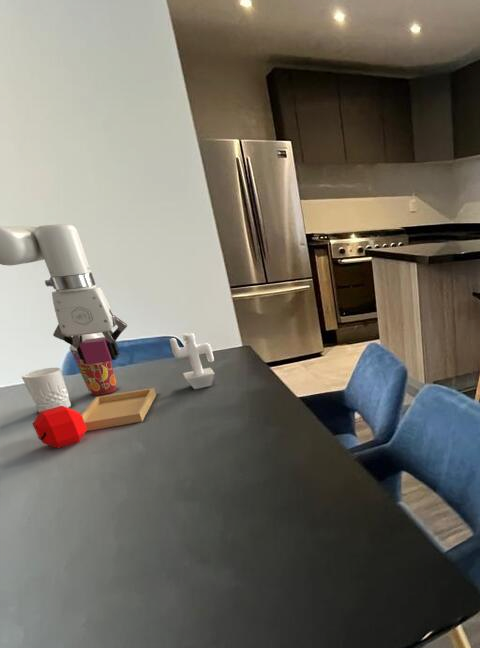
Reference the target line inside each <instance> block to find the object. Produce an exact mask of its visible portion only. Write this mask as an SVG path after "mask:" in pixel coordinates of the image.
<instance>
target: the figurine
mask: <svg viewBox="0 0 480 648" xmlns="http://www.w3.org/2000/svg"><path fill="white" fill-rule="evenodd" d="M182 339H183V341H184V343H185V346H181V347H180V345H179V344H178V341H177V339H176V338H175V337H171V338H170V339H169V344H170V348H171V351H172V354H173V356H174V357H175V358H177V359H182V358H188V359H189V361H190V365H191V369H192V370H191V371H187V372H182V375H183V376H184V379H185V380H186V381H187V382H188V384H189V385H190V386H191V387H192V388H193V389H194V390H198V389H203V388H207V387H212V385H213V381H214V378H215V372H214V370H213V369H212V368H211V367H206V368H203V366H202V362H201V358H200V355H204V354H205V355H206V359H207V361H208V362H209V363H213V362H214V361H215V358H214V354H213V350H212V346H211V344H210V343H208V342H203V343H198V344H197V343H196V336H195V333H194V332H191V331H190V332H184V333H183V334H182Z"/></svg>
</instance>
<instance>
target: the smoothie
mask: <svg viewBox="0 0 480 648" xmlns="http://www.w3.org/2000/svg"><path fill="white" fill-rule="evenodd" d="M93 338H101V335H100V334H98V333H93V334H85V335H83V341H84V340H86V339H93ZM69 350H70V352H71V354H72V357H73V359H74V361H75V363H76V365H77V368H78V370H79V372H80V374H81V377H82V379H83V382H84V383H85V386H86V388H87V390H88V392H90V393H91V395H93V396H105V395H109V394H111V393H113V392H115V391H116V390H117V386H118V383H117V380H116V375H115V372H114V368H113V364H112V361H110V362H103V363H96V364H89V365H87V364H84V361H83V360H81V359H80V357H79V354H78V351H77V349H76V348H75V347H73V345H71V344H70V346H69Z"/></svg>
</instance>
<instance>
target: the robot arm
mask: <svg viewBox="0 0 480 648" xmlns="http://www.w3.org/2000/svg"><path fill="white" fill-rule="evenodd" d="M43 260H44V263H45V265H46V267H47V268H46V269H47V270H48V273H49V276H50V277H49V279H47V280H44V284H45V286H46V287H52V288H53V290H55V291H51V297H52V305H53V308H54V312H55V316H56V319H57V323H58V324H57V326H56V328H55V329H54V332H53V334H52V336H53V337H54V338H56V339H59V340H61V341H64V342H65V343H66V344H69V345H70V346H71V345H73V347H75V348H76V349H77V351H78V354H79V357H80V359H81V360H83V361H84V364H86V361H85V358H84V356H83V353H82V350H81V348H80V345H79V344H80V343H82V342H83V335H85V334H93V333H96V334H100V333H101V334H102V335H103V337H105V338H106V339H107V340H108V344H107V346H108V349H109V352H110V355H111V358H112V361H115V360H117V359H118V358H119V355H120V349H119V347H118V344H117V340H118V338H119V337H120V335H121V334H122V333H123V332H124V331H125V329H127V328H128V324H127V323H126V322H124V321H123V320H121V319H120V318H119V317H117V316H116V315H115V314H114V313H113V311H112V308H111V306H110V303H109V301H108V299H107V298H106V295H105V293H104V292H103V290H102V288H101V287H100V286H99V285H98V286H97V285H96V281H95V279H94V276H93V273H92V270H91V267H90V264H89V261H88V258H87V255H86V252H85V249H84V246H83V244H82V241H81V237H80V235H79V232H78V230H77V228H76V227H75V226H74V225H72V224H69V223H59V224H45V225H39V226H25V225H11V226H9V225H8V226H0V265H1V266H17V265H18V266H19V265H24V264H30V263H35V262H39V261H43ZM116 326H117V328H116V329H115V330H114V331H113V330H112V329H113V328H115V327H116Z"/></svg>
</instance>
